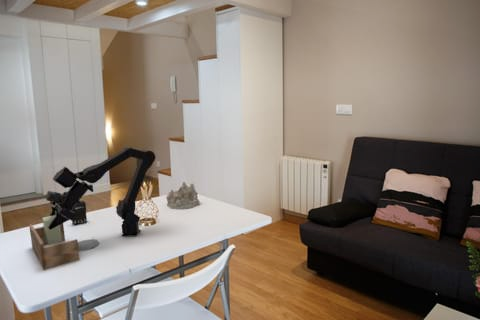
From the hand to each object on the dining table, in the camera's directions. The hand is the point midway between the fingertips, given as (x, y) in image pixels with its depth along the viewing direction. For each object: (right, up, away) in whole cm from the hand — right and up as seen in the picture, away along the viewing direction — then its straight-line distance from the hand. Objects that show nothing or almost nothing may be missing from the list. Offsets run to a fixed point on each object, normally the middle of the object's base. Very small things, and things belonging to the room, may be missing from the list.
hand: (47, 227), depth 144 cm
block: (+1, -6, +2) cm, 7 cm away
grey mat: (+11, -10, +10) cm, 18 cm away
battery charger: (-3, -5, +36) cm, 37 cm away
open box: (+1, -11, +3) cm, 12 cm away
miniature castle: (+44, +1, +62) cm, 76 cm away
